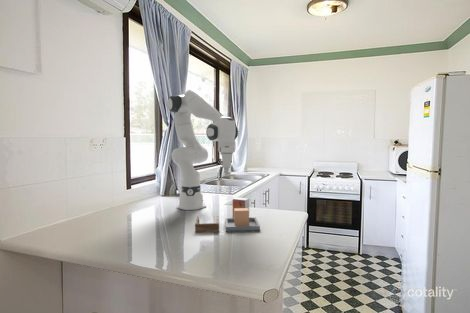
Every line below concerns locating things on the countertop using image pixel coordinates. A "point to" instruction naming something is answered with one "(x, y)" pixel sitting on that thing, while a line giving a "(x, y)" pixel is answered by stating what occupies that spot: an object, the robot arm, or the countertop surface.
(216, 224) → the walnut bay
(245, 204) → the small box
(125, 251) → the countertop surface
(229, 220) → the grey tray
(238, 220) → the tan wooden block
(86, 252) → the countertop surface
